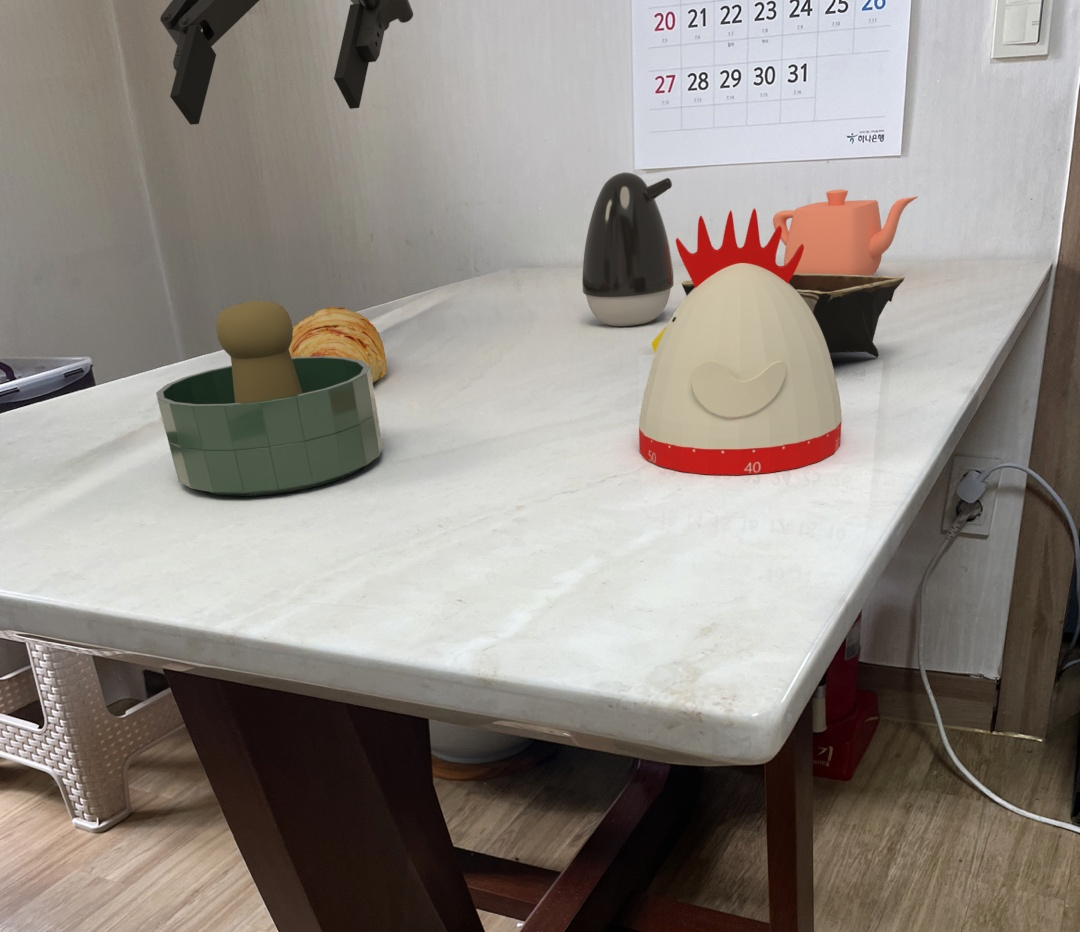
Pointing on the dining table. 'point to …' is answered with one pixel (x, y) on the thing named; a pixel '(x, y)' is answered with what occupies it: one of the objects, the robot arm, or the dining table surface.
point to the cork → (259, 350)
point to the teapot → (839, 234)
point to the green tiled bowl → (272, 429)
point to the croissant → (340, 338)
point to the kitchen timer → (740, 367)
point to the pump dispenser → (627, 253)
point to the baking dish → (843, 306)
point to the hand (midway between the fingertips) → (263, 102)
